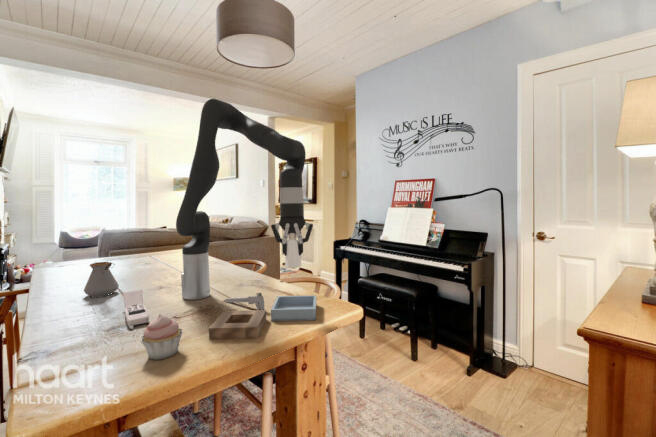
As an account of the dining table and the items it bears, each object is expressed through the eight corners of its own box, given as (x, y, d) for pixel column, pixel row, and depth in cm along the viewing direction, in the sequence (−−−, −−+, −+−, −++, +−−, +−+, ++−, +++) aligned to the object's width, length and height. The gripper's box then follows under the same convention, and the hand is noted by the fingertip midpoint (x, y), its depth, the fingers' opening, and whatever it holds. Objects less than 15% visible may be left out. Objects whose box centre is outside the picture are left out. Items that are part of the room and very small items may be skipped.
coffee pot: (81, 295, 127) (78, 258, 126) (114, 288, 135) (112, 254, 134) (94, 306, 112) (92, 265, 112) (130, 298, 121) (128, 260, 120)
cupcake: (148, 347, 80) (146, 309, 79) (187, 343, 82) (185, 305, 82) (134, 366, 71) (132, 323, 70) (179, 360, 73) (177, 318, 72)
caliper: (264, 311, 105) (264, 293, 105) (262, 312, 105) (261, 293, 104) (225, 301, 117) (225, 284, 117) (223, 301, 116) (222, 285, 116)
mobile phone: (142, 288, 114) (149, 307, 94) (143, 304, 114) (151, 326, 94) (122, 292, 111) (125, 311, 90) (123, 308, 111) (127, 331, 91)
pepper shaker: (294, 268, 98) (293, 233, 97) (281, 267, 101) (280, 233, 100) (304, 265, 102) (304, 232, 102) (292, 264, 105) (291, 231, 105)
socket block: (209, 339, 84) (208, 328, 84) (224, 320, 97) (224, 311, 97) (257, 338, 84) (257, 327, 84) (266, 319, 97) (266, 310, 97)
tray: (271, 321, 96) (270, 309, 96) (277, 306, 110) (277, 296, 109) (315, 320, 96) (315, 308, 96) (316, 305, 110) (316, 295, 110)
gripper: (267, 202, 97) (269, 257, 98) (313, 201, 97) (314, 256, 98) (271, 202, 104) (273, 253, 105) (314, 201, 104) (315, 252, 105)
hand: (293, 254), depth 101 cm, fingers closed on pepper shaker, 4 cm apart
